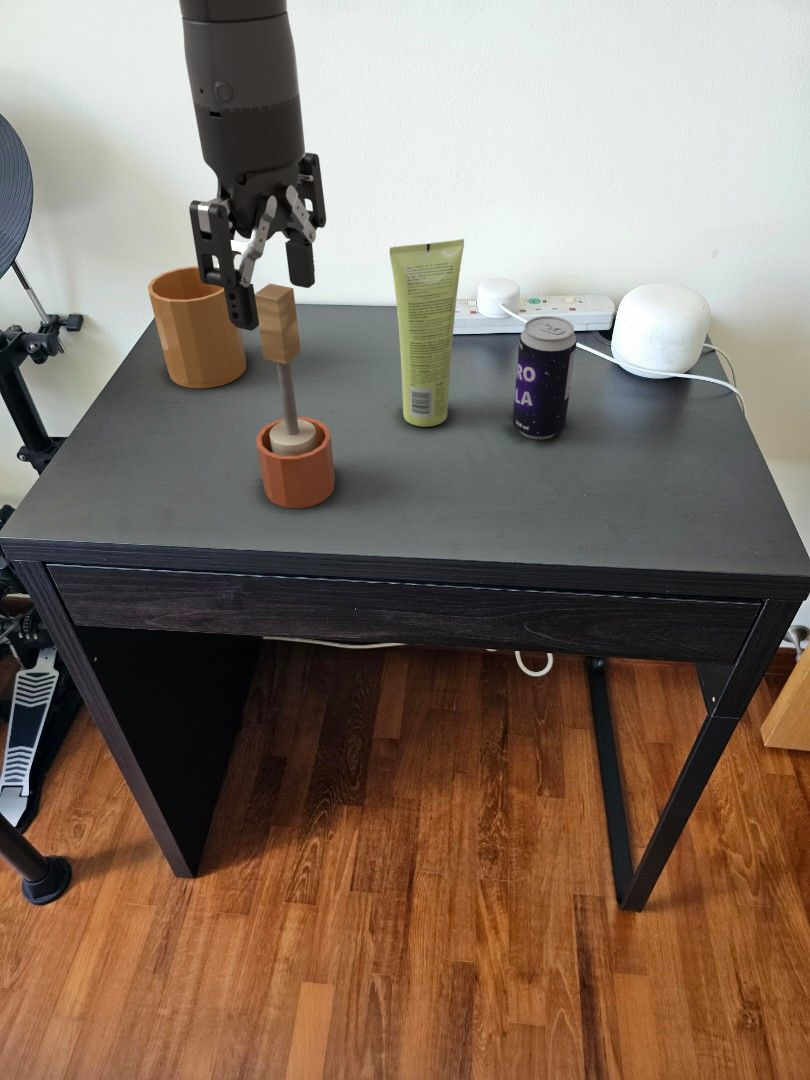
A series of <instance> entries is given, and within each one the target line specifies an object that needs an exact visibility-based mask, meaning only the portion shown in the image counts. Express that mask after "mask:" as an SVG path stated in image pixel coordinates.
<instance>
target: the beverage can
mask: <svg viewBox="0 0 810 1080" xmlns="http://www.w3.org/2000/svg"><path fill="white" fill-rule="evenodd" d="M518 340H519V341H518V351H517V364H516V374H515V385H514V398H513V410H512V424H513V426H514V427H515V428H516V429H517V430H518V431H519V432H520V433H521V434H522V435H523V436H525V437H527V438H528V439H532V440H547V439H551V438H553V437H554V436H555V435H556V434H559V433H561V432H562V431H563V430H564V428H565V427H566V422H567V416H568V407H569V402H570V401H569V400H570V394H571V387H572V386H571V385H572V379H573V372H574V364H575V357H576V351H577V343H578V340H577V336H576V334H575V326H574V325H573V323H572V322H570V321H569V320H567V319H565V318H562V317H558V316H553V315H552V316H551V315H544V316H543V315H542V316H536V317H533V318H530V319H528V321H526V323H525V324H524V329H523V330H522V332H521V333H520V335H519V339H518Z"/></svg>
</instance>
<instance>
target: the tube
mask: <svg viewBox="0 0 810 1080" xmlns="http://www.w3.org/2000/svg"><path fill="white" fill-rule="evenodd" d="M464 247H465V239H464V238H458V239H450V240H443V241H435V242H427V243H415V244H406V245H405V244H404V245H395V246H389V259H390V264H391V270H392V277H393V284H394V293H395V301H396V313H397V314H396V315H397V325H398V337H399V350H400V351H399V353H400V367H401V390H402V391H401V393H402V413H403V418H404V420H405V421H406V423H408V424H410V425H413V426H417V427H422V428H423V427H424V428H429V427H434V426H437V425H440V424H442V423H444V422H445V421H446V420H447V417H448V410H449V409H448V408H449V407H448V406H449V392H450V391H449V389H450V375H451V362H452V351H453V350H452V349H453V338H454V327H455V316H456V305H457V296H458V288H459V280H460V272H461V265H462V260H463V255H464Z"/></svg>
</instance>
